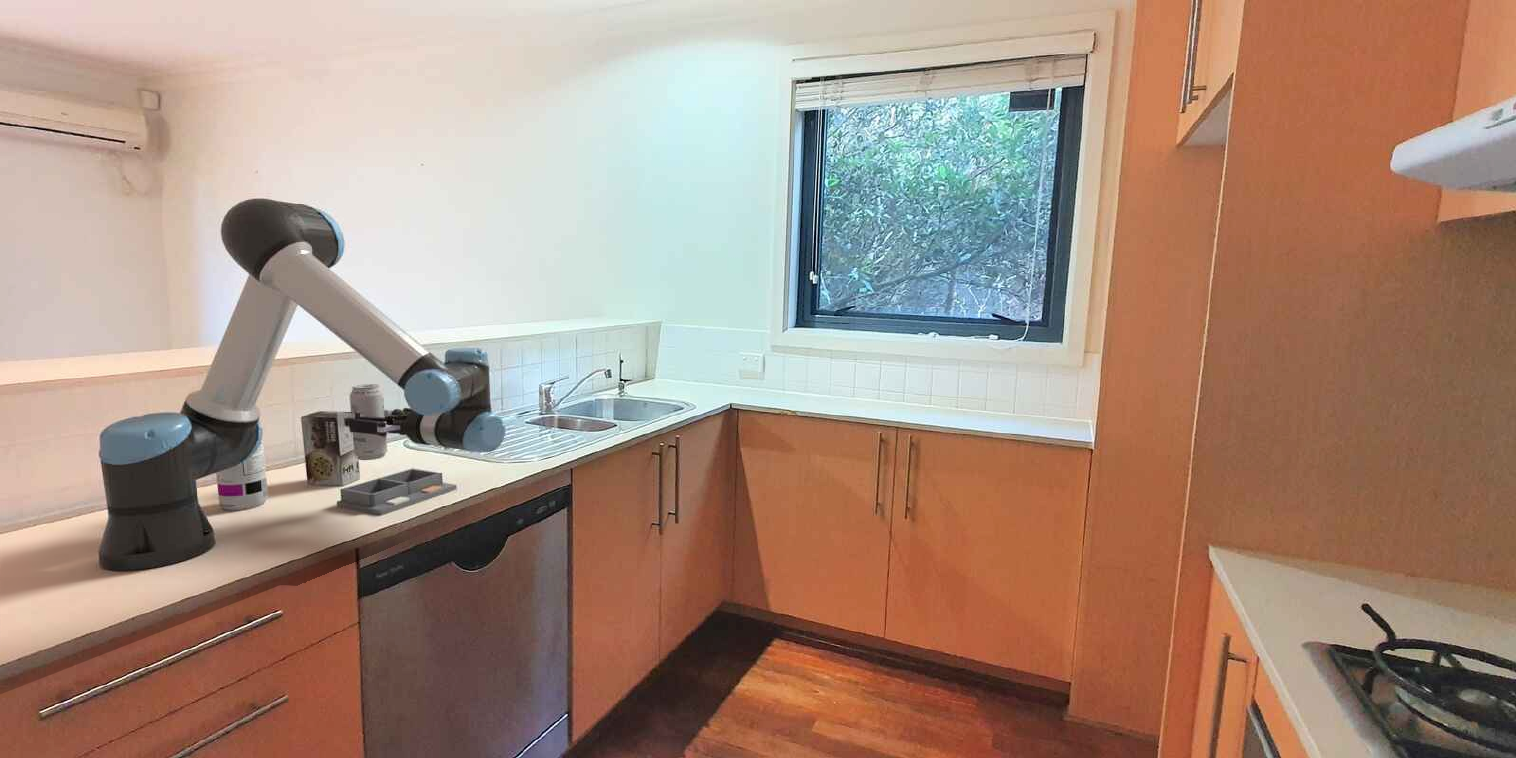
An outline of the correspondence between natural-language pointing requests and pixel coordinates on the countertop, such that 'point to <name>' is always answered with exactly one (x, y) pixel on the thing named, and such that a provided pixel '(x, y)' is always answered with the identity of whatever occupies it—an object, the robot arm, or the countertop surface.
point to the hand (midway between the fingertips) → (355, 416)
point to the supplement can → (244, 483)
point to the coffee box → (328, 450)
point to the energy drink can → (368, 405)
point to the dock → (394, 491)
